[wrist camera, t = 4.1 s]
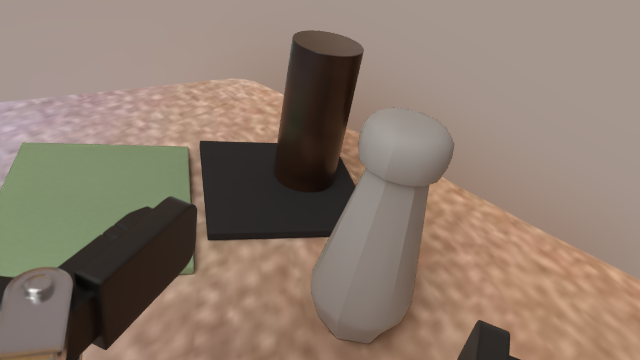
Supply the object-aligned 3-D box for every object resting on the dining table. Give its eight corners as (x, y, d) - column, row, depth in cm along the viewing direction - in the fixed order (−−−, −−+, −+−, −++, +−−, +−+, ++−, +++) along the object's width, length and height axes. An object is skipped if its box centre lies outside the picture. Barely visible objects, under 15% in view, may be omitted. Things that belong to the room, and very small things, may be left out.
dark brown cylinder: (325, 158, 42) (351, 34, 36) (341, 192, 38) (373, 59, 33) (268, 157, 41) (286, 27, 35) (279, 192, 37) (300, 52, 31)
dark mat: (333, 150, 45) (334, 144, 45) (375, 235, 36) (377, 229, 35) (199, 146, 42) (199, 140, 41) (207, 240, 32) (208, 233, 32)
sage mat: (187, 152, 41) (187, 146, 40) (193, 274, 30) (194, 266, 29) (23, 148, 37) (22, 142, 37) (-40, 285, 26) (-42, 277, 26)
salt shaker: (290, 287, 30) (329, 92, 23) (371, 272, 32) (428, 91, 25) (328, 368, 26) (390, 158, 19) (418, 344, 28) (503, 150, 21)
